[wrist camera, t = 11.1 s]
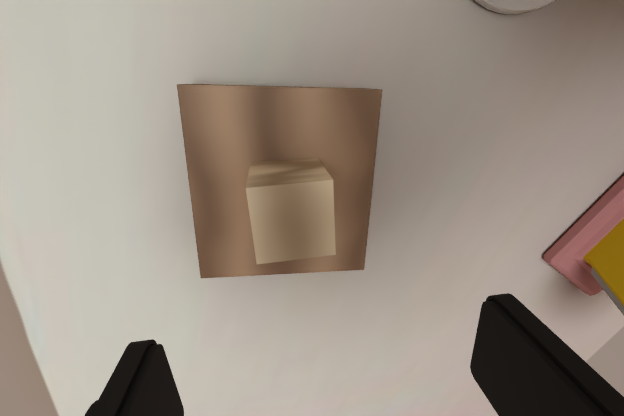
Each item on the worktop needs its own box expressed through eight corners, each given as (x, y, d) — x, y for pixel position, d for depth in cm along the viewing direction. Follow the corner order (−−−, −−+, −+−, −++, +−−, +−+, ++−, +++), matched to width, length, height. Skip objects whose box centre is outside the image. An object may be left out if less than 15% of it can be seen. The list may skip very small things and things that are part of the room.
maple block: (317, 156, 24) (333, 179, 18) (320, 217, 26) (335, 254, 20) (250, 163, 23) (245, 188, 18) (258, 224, 25) (256, 264, 20)
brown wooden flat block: (362, 88, 27) (382, 89, 23) (350, 243, 33) (363, 269, 28) (193, 83, 25) (177, 84, 21) (210, 248, 31) (200, 278, 26)
